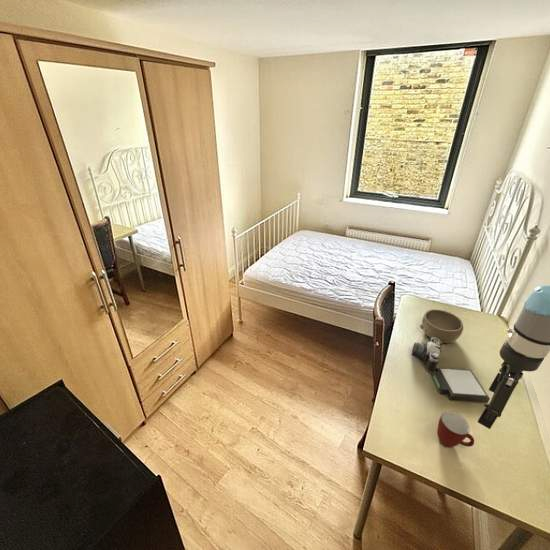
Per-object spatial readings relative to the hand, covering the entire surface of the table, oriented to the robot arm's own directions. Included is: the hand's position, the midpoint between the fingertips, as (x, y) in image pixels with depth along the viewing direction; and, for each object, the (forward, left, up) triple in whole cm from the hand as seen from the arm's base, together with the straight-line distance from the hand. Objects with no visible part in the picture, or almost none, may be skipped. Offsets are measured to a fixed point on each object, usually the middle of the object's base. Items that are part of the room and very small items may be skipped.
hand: (489, 407), depth 78 cm
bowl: (+61, -19, -27) cm, 70 cm away
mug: (+6, -1, -27) cm, 27 cm away
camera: (+44, -6, -27) cm, 52 cm away
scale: (+30, -14, -27) cm, 43 cm away
